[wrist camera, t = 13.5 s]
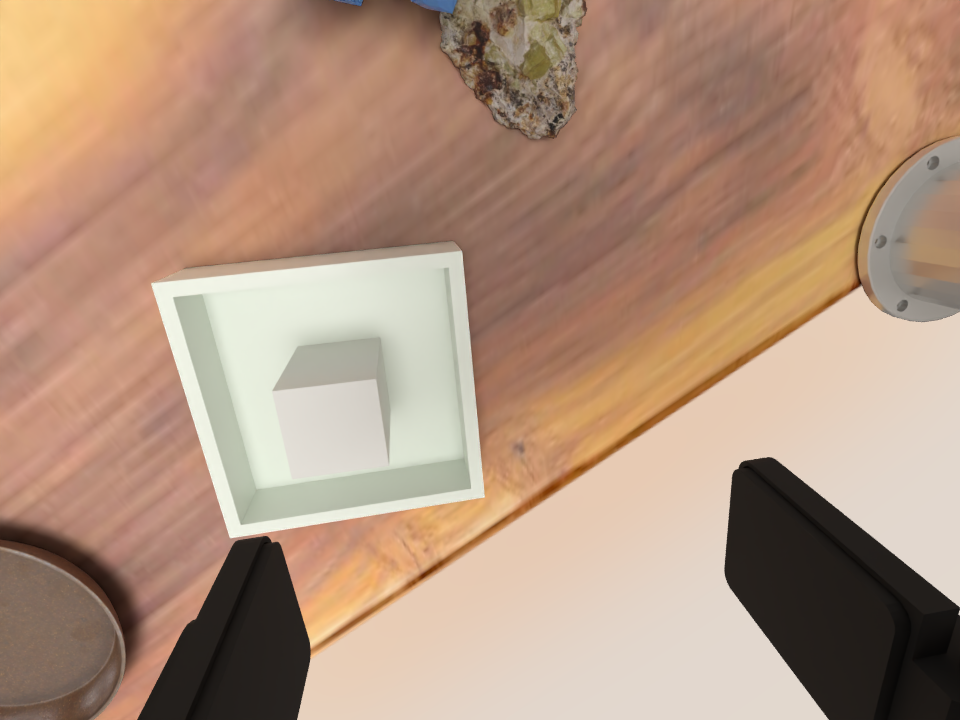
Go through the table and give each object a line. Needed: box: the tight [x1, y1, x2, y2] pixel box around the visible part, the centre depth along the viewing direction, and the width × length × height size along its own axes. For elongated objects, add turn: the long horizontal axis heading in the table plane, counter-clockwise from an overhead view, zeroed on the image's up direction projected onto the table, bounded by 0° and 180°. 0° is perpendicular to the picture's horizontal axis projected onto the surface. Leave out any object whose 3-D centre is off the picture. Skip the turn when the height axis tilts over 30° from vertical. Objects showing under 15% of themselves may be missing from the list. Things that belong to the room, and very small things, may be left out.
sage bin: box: [151, 241, 485, 538], centre depth 31 cm, size 16×16×4 cm
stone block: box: [272, 337, 391, 479], centre depth 29 cm, size 5×5×7 cm
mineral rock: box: [439, 0, 587, 139], centre depth 28 cm, size 11×4×8 cm
